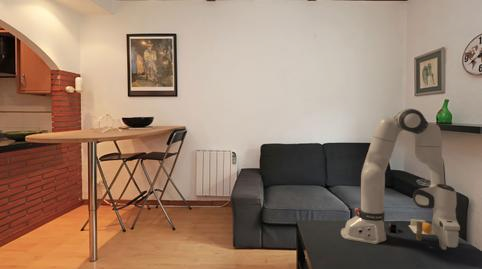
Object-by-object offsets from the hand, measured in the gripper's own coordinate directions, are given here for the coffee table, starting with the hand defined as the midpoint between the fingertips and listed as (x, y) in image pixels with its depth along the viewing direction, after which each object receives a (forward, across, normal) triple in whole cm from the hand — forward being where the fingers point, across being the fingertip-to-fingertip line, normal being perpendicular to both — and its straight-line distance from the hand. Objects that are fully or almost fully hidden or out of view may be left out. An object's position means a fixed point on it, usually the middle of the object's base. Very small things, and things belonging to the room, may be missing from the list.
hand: (442, 248), depth 139 cm
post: (+2, -12, -6) cm, 14 cm away
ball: (-1, -23, +1) cm, 23 cm away
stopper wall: (+2, -34, 0) cm, 34 cm away
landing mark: (+2, -26, 0) cm, 27 cm away
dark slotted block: (+2, -23, -16) cm, 28 cm away
